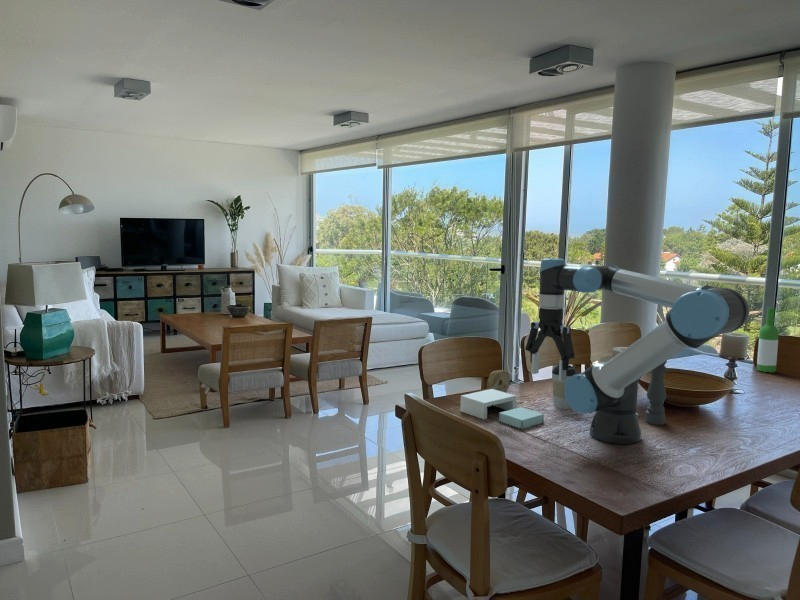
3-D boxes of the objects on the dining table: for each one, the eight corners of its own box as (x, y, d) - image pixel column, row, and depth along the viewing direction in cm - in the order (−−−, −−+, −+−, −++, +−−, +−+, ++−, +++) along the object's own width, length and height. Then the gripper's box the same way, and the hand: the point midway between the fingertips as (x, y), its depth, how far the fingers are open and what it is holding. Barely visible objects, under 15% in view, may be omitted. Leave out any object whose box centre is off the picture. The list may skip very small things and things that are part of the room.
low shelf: (515, 411, 214) (515, 395, 213) (483, 419, 204) (484, 403, 203) (491, 403, 223) (491, 388, 222) (460, 411, 213) (460, 395, 212)
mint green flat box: (543, 422, 201) (543, 414, 200) (521, 429, 194) (522, 420, 194) (520, 415, 209) (520, 407, 208) (498, 421, 202) (499, 412, 202)
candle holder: (642, 422, 203) (646, 349, 200) (649, 418, 207) (653, 347, 205) (660, 426, 199) (665, 352, 196) (667, 422, 203) (672, 349, 200)
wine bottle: (778, 373, 277) (784, 309, 274) (760, 372, 278) (765, 308, 275) (771, 369, 284) (776, 307, 281) (753, 369, 286) (758, 306, 282)
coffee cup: (570, 411, 214) (572, 370, 212) (546, 406, 219) (548, 366, 218) (579, 405, 221) (581, 366, 219) (556, 401, 227) (558, 362, 225)
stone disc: (503, 392, 239) (504, 367, 238) (510, 394, 236) (511, 369, 235) (484, 395, 233) (485, 370, 232) (491, 398, 230) (492, 372, 229)
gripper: (589, 310, 182) (585, 381, 185) (530, 303, 200) (528, 368, 202) (574, 312, 178) (571, 385, 180) (515, 304, 195) (513, 371, 198)
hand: (548, 376), depth 191 cm, fingers open, 10 cm apart
